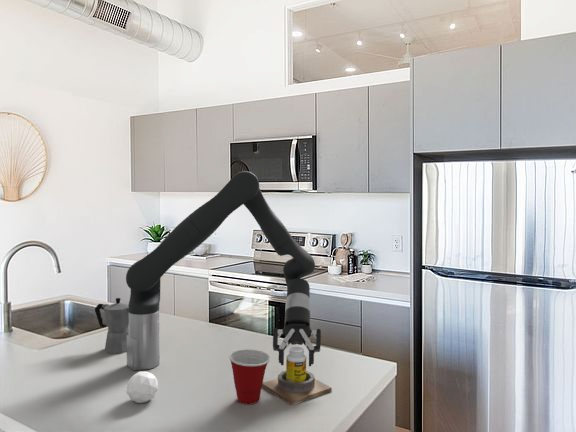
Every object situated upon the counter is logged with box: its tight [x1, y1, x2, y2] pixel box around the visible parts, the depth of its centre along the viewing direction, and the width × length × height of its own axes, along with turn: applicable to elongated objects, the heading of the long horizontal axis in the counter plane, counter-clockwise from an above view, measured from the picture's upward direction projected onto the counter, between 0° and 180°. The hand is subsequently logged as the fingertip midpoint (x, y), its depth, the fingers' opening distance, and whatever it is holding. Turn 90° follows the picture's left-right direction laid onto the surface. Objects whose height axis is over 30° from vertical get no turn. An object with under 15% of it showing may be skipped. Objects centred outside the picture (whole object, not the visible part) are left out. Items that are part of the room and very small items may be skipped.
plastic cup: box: [228, 348, 271, 405], centre depth 119 cm, size 11×11×12 cm
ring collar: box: [262, 370, 333, 406], centre depth 126 cm, size 14×14×4 cm
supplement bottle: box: [285, 346, 307, 383], centre depth 126 cm, size 6×6×10 cm
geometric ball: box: [126, 370, 159, 404], centre depth 118 cm, size 8×8×8 cm
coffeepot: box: [94, 297, 129, 355], centre depth 156 cm, size 15×9×18 cm, turn 79°
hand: (296, 364), depth 124 cm, fingers open, 7 cm apart
